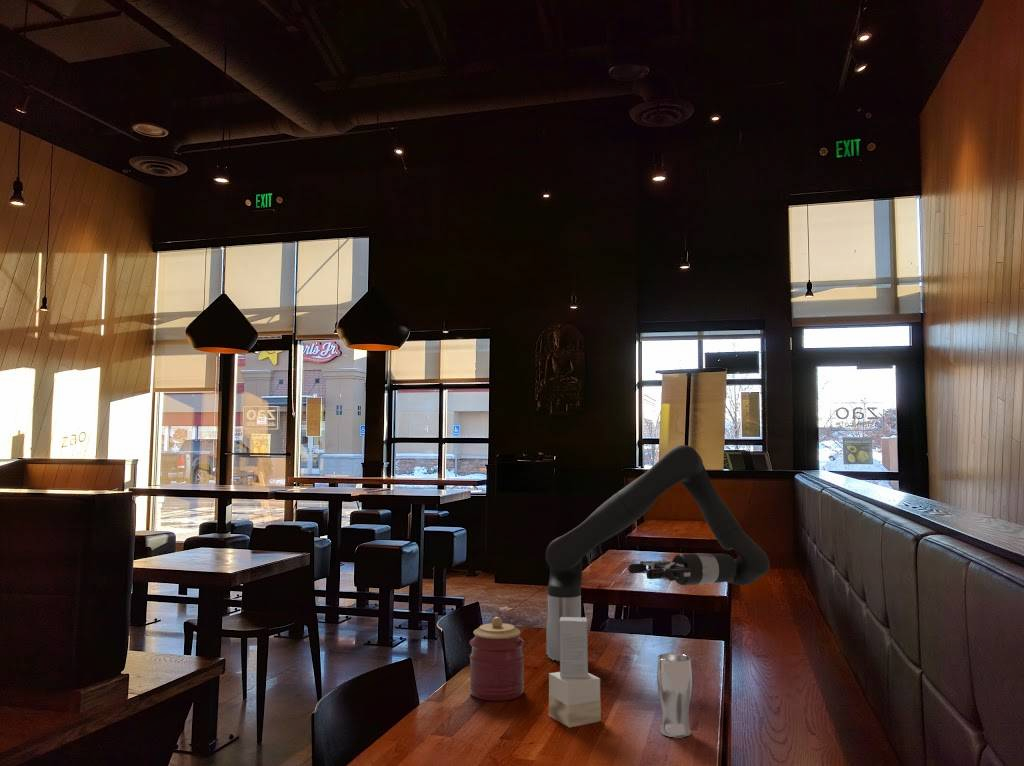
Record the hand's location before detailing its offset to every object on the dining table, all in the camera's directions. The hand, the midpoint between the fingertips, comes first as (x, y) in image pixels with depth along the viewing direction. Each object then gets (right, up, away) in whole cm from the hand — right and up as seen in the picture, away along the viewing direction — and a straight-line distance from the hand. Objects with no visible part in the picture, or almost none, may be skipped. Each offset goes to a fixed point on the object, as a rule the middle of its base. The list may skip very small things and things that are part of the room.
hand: (638, 571), depth 180 cm
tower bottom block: (-17, -27, -19) cm, 37 cm away
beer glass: (+3, -26, -28) cm, 38 cm away
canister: (-34, -28, -2) cm, 44 cm away
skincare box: (-17, -18, -18) cm, 31 cm away
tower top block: (-17, -22, -19) cm, 34 cm away
